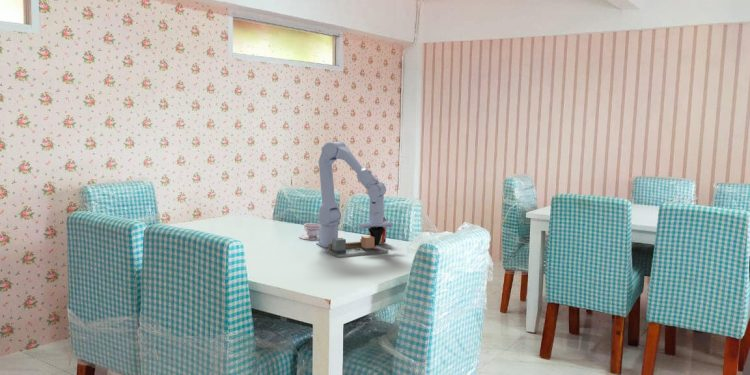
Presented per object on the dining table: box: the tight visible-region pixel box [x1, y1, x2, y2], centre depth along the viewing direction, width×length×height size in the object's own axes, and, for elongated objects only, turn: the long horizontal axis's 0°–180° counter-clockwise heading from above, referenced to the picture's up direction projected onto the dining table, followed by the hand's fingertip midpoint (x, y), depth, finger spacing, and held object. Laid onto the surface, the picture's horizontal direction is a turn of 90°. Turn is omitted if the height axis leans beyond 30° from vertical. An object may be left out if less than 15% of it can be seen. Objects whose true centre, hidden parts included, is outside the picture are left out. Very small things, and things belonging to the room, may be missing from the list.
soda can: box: [369, 215, 387, 246], centre depth 276 cm, size 7×7×12 cm
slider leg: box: [359, 235, 375, 250], centre depth 261 cm, size 7×4×5 cm, turn 27°
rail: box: [328, 241, 375, 250], centre depth 262 cm, size 2×20×2 cm, turn 117°
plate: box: [325, 245, 389, 258], centre depth 258 cm, size 12×22×1 cm, turn 117°
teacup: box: [298, 222, 321, 241], centre depth 288 cm, size 12×12×6 cm
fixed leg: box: [332, 237, 347, 253], centre depth 255 cm, size 7×4×5 cm, turn 27°
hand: (375, 245), depth 261 cm, fingers closed
